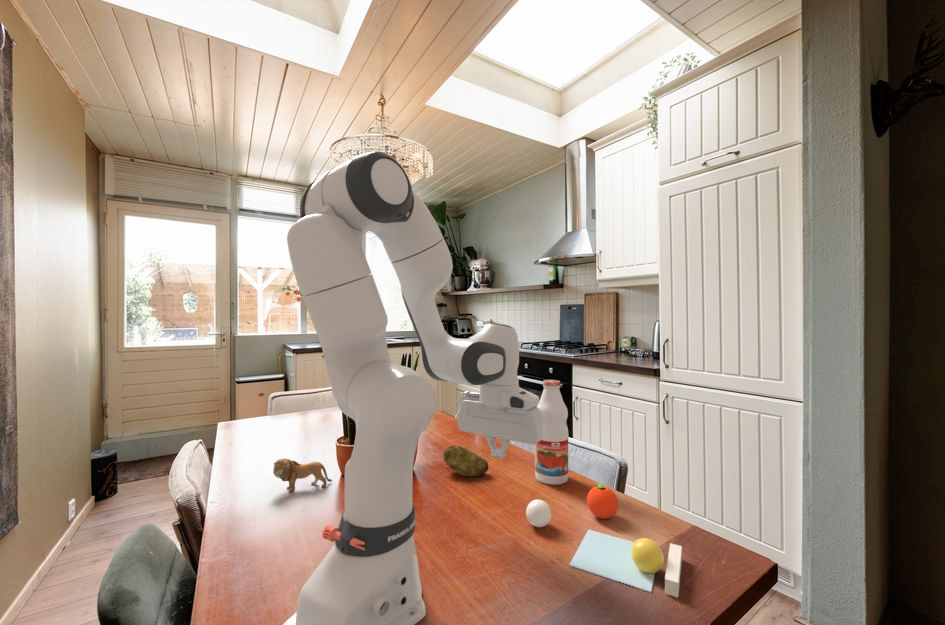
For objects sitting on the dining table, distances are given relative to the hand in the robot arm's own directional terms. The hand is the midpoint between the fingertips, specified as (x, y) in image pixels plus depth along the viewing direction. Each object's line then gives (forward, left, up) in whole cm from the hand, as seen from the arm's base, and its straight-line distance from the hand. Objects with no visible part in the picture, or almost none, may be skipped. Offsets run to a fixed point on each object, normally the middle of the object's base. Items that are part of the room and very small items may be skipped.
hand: (498, 456), depth 88 cm
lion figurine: (-12, +53, -15) cm, 56 cm away
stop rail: (0, -35, -15) cm, 38 cm away
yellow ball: (-1, -31, -12) cm, 33 cm away
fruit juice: (+29, -2, -15) cm, 33 cm away
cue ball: (+4, -8, -12) cm, 15 cm away
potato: (+19, +21, -15) cm, 32 cm away
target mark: (0, -25, -15) cm, 29 cm away
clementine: (+15, -19, -15) cm, 29 cm away
